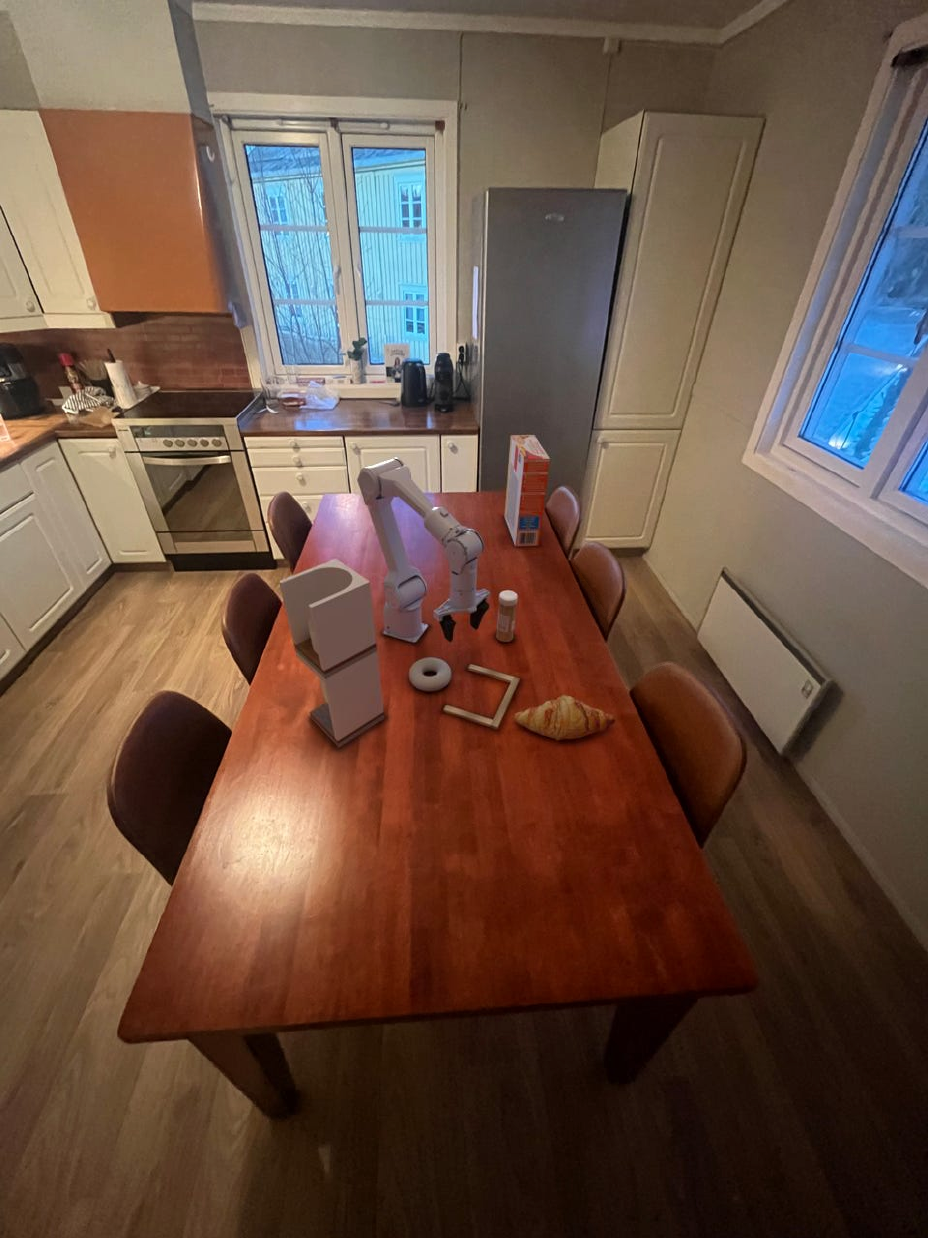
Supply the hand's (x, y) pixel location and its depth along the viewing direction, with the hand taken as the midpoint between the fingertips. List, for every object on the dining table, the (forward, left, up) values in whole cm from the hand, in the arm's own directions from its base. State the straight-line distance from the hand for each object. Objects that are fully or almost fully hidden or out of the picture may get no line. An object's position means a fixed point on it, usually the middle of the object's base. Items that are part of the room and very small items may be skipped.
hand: (461, 633), depth 117 cm
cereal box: (-7, +73, -10) cm, 75 cm away
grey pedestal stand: (-15, -26, -10) cm, 32 cm away
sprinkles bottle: (+7, +14, -10) cm, 18 cm away
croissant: (+28, -9, -10) cm, 31 cm away
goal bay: (+9, -8, -9) cm, 15 cm away
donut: (-4, -8, -10) cm, 13 cm away
